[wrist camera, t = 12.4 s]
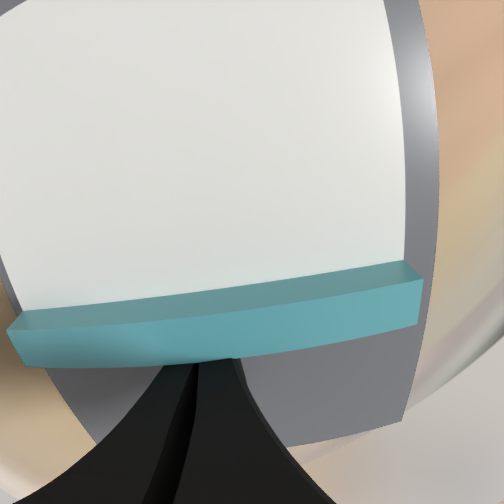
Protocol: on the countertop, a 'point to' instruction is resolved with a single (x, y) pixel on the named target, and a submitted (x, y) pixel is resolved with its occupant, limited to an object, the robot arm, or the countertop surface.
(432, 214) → the housing
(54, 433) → the countertop surface
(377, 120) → the lid
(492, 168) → the countertop surface
